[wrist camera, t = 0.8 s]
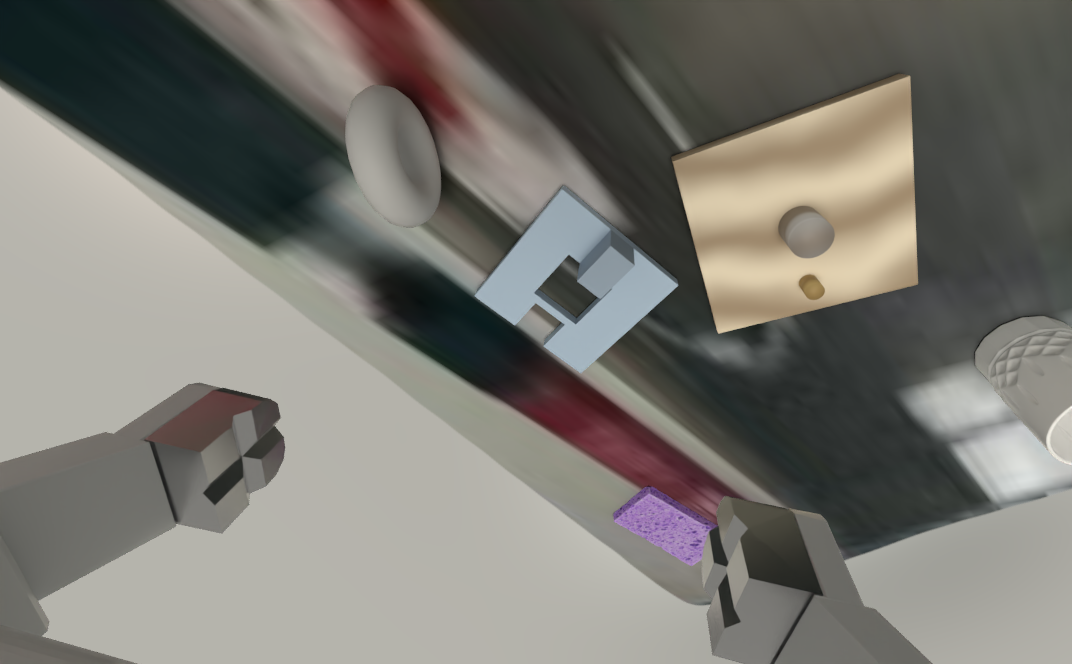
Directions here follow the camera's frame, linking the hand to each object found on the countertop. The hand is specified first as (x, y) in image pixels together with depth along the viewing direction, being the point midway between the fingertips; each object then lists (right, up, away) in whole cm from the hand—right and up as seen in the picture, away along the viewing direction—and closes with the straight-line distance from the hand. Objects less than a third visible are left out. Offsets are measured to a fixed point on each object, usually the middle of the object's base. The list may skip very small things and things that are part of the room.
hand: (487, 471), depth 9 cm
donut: (-9, +18, +32) cm, 38 cm away
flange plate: (+4, +7, +37) cm, 37 cm away
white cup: (+43, +1, +34) cm, 55 cm away
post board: (+21, +12, +31) cm, 39 cm away
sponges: (+17, -20, +53) cm, 59 cm away
